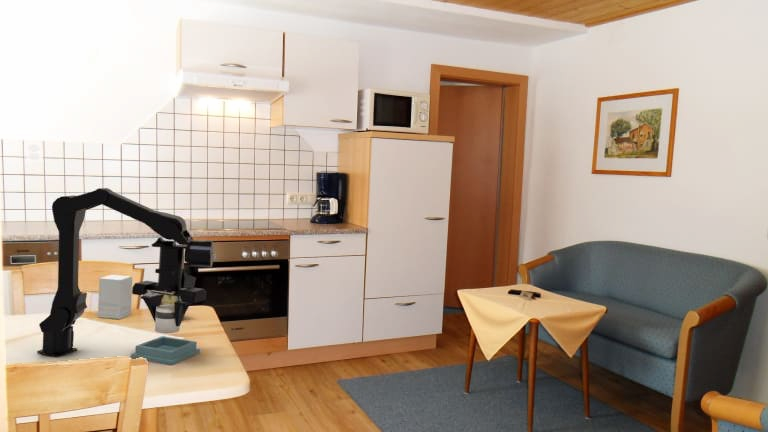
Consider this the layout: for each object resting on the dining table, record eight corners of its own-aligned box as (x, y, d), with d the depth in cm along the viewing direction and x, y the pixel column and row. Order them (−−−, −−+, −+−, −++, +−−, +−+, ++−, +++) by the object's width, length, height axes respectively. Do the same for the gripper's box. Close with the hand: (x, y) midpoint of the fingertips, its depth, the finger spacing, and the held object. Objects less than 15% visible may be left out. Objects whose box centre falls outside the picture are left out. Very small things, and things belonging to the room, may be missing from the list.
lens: (170, 334, 147) (171, 311, 146) (149, 331, 148) (150, 308, 148) (184, 329, 152) (186, 306, 152) (164, 325, 154) (166, 303, 154)
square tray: (171, 365, 143) (172, 353, 143) (130, 357, 147) (131, 346, 146) (199, 352, 155) (200, 341, 155) (161, 345, 158) (162, 335, 158)
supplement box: (131, 314, 188) (133, 276, 188) (119, 319, 181) (121, 279, 180) (110, 312, 189) (111, 274, 188) (96, 317, 182) (98, 277, 181)
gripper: (220, 265, 154) (216, 323, 155) (160, 257, 160) (157, 313, 160) (195, 270, 144) (191, 332, 145) (132, 262, 149) (129, 321, 150)
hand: (167, 324), depth 150 cm, fingers closed on lens, 6 cm apart
